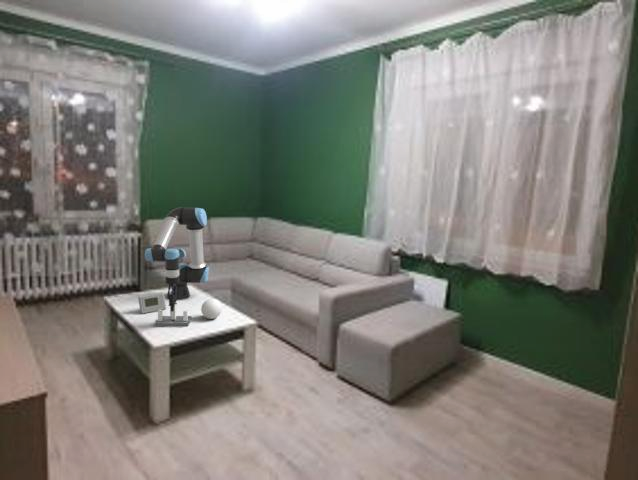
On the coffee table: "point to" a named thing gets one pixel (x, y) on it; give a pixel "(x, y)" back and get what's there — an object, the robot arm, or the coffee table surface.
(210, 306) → the decorative ball
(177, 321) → the board
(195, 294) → the coffee table surface
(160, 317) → the breaker
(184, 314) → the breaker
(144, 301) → the digital clock
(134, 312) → the coffee table surface
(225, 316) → the coffee table surface
